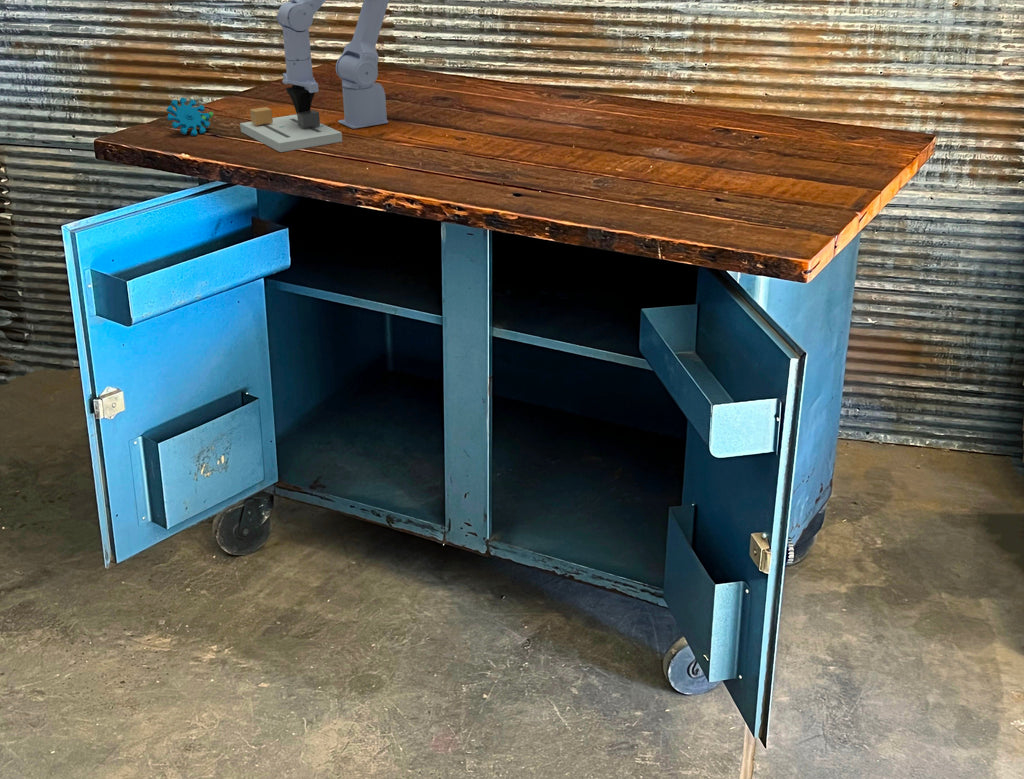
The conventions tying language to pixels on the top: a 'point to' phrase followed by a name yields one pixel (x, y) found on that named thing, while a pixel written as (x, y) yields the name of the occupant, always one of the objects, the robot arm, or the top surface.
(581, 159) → the top surface
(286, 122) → the fader panel
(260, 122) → the tan fader
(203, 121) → the gear
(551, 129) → the top surface
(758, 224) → the top surface
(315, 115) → the black fader
